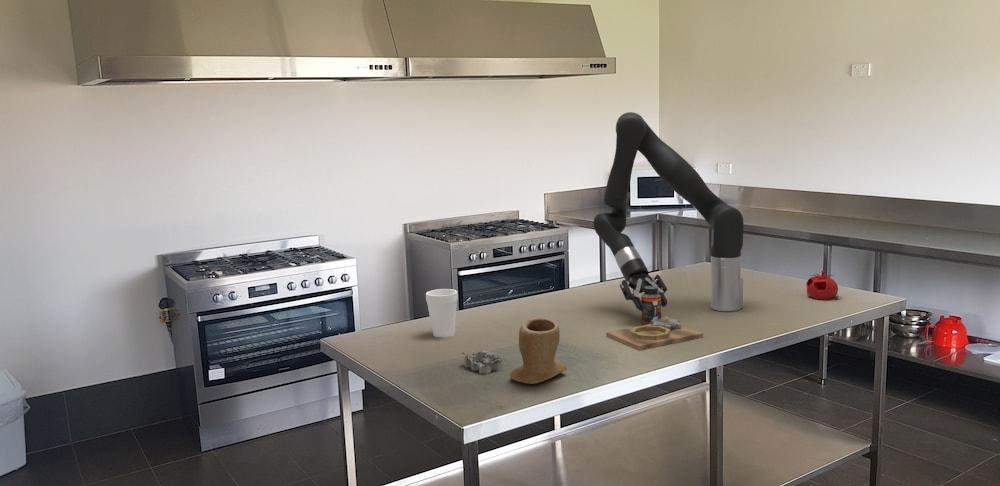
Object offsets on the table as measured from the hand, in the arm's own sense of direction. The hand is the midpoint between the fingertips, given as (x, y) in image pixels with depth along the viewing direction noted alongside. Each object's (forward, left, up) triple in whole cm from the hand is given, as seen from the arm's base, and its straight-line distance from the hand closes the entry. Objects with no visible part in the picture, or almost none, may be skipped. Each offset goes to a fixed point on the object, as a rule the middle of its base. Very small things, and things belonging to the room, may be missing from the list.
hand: (653, 307), depth 235 cm
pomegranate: (-65, +5, -5) cm, 65 cm away
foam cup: (+58, -26, -5) cm, 64 cm away
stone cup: (+52, +24, -5) cm, 57 cm away
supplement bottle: (0, -1, -5) cm, 6 cm away
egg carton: (+61, +8, -6) cm, 61 cm away
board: (+8, +11, -5) cm, 14 cm away
